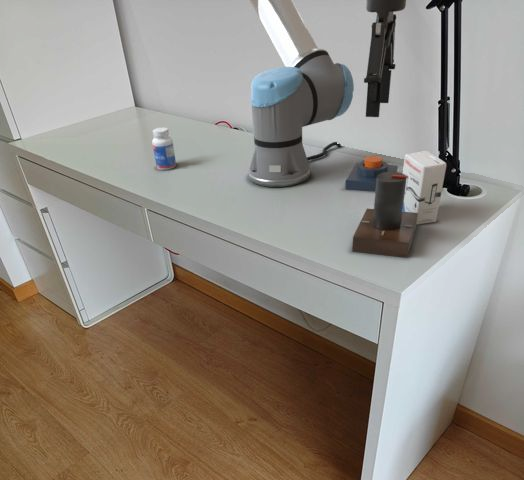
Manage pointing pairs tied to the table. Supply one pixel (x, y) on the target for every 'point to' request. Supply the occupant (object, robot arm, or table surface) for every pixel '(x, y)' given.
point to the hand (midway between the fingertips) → (377, 109)
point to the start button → (373, 162)
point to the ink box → (423, 185)
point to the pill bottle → (163, 149)
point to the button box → (366, 176)
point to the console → (384, 236)
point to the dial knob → (389, 200)
